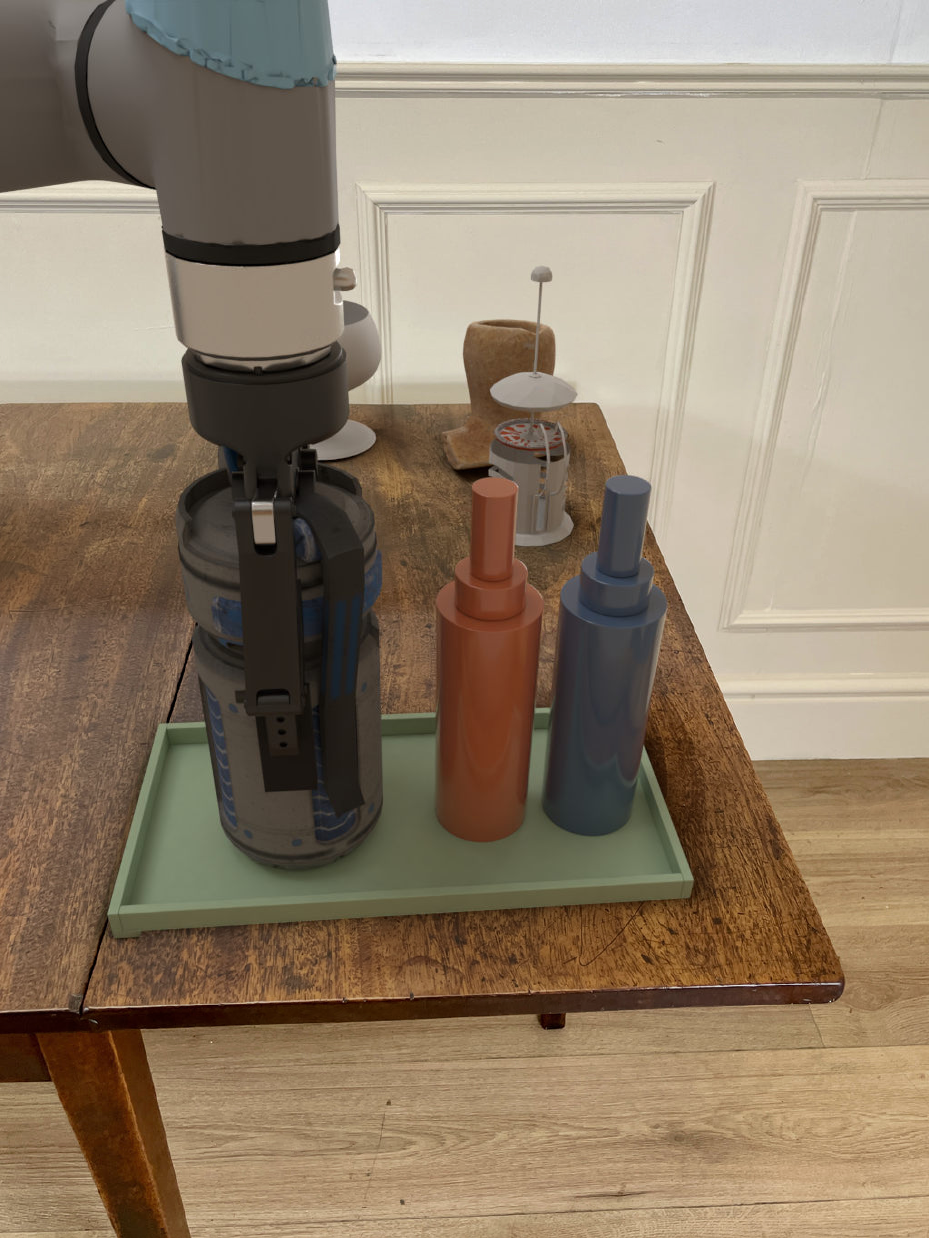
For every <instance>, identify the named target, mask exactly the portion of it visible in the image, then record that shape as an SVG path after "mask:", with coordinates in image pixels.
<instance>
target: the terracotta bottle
mask: <svg viewBox="0 0 929 1238" xmlns="http://www.w3.org/2000/svg"><path fill="white" fill-rule="evenodd" d="M517 505H518V486H517V484H516V483H514V482H513V481H511V480H508V479H504V478H498V477H492V476H489V477H483V478H479V479H478V480H476V481H474V482H473V483H472V485H471V503H470V533H469V535H470V537H469V556H466V557H463V558H462V559H461V560H459V562H457V564H456V565H455V567H454V579H453V580H451V581H449V582H448V583H447V584H445V585H444V586H443V587H441V589H440V590H439V591H438V593H437V595H436V598H435V679H434V680H435V684H434V685H435V687H434V688H435V689H434V690H435V691H434V693H435V694H434V695H435V696H434V697H435V698H434V699H435V700H434V708H435V709H434V712H435V814H436V817H437V819H438V821H439V823H440V824H441V825H442V827H443V828H444V829H446V830H447V831H448V832H449V833H451V834H452V835H454V836H456V837H458V838H461V839H464V840H467V841H472V842H493V841H497V840H501V839H504V838H506V837H508V836H510V835H511V834H513V833H514V832H516V831H517V830H518V829H519V828H520V827H521V825H522V824H523V822H524V820H525V818H526V813H527V801H528V790H529V778H530V766H531V754H532V742H533V730H534V718H535V708H536V705H537V694H538V682H539V670H540V669H539V668H540V656H541V648H542V647H541V646H542V645H541V644H542V634H543V623H544V610H545V603H544V599H543V596H542V595H541V593H540V592H539V590H537V589H536V588H535V587H534V586H533V585H531V584H530V583H528V582H529V570H528V568H527V566H526V565H525V564H524V562H523V561H521V560H519V559H518V558H516V557H515V553H516V551H515V549H516V545H515V538H516V522H517Z"/></svg>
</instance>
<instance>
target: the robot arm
mask: <svg viewBox="0 0 929 1238" xmlns="http://www.w3.org/2000/svg"><path fill="white" fill-rule="evenodd" d="M329 8H330V7H329V0H0V194H3V193H9V192H10V193H11V192H17V191H25V190H30V189H31V190H32V189H38V188H39V189H40V188H46V187H51V186H59V185H66V184H72V183H79V182H90V181H93V182H94V181H102V182H111V183H118V184H123V185H128V186H134V187H139V188H143V189H149V190H153V191H155V192H156V198H157V204H158V209H159V215H160V220H161V235H162V241H163V253H164V260H165V268H166V274H167V280H168V288H169V289H168V290H169V296H170V303H171V309H172V316H173V323H174V324H173V325H174V331H175V336H176V339H177V341H178V342H179V343H180V344H182V345H183V346H184V347H185V348H187V349H186V350H185V353H184V354H182V356H181V360H180V361H181V362H180V363H181V370H182V375H183V376H182V377H183V383H184V390H185V396H186V404H187V410H188V411H187V412H188V416H189V417H188V418H189V422H190V425H191V427H192V429H193V430H194V432H195V433H196V434H197V435H198V436H199V437H201V438H202V439H203V440H205V441H207V442H209V443H211V444H213V445H216V446H217V447H218V446H225V447H227V448H230V449H232V450H234V451H236V452H237V465H238V471H239V472H232V499H233V501H234V507H232V517H233V518H234V519H235V526H236V536H237V545H238V555H239V575H240V594H241V614H242V633H243V652H244V672H245V690H235V699H236V703H237V704H242V703H244V709H246V714H247V715H248V717H251V716H255V720H256V727H257V735H258V743H259V750H260V758H261V765H262V773H263V781H264V788H265V792H280V791H301V790H317V787H318V775H317V764H316V752H315V741H314V729H313V718H312V706H311V695H310V683H306V682H305V658H304V620H303V608H302V592H301V579H298V580H297V559H296V541H295V519H297V517H296V506H294V501H295V499H296V496H297V494H299V496H307V495H311V494H314V493H316V480H317V479H318V462H319V460H318V456H317V450H316V449H310V444H311V445H314V444H317V443H320V442H322V441H324V440H327V439H329V438H330V437H332V436H334V435H335V434H336V433H338V432H339V431H340V430H341V429H342V428H343V427H344V425H345V424H346V422H347V420H348V419H349V417H350V398H349V397H350V396H349V393H350V392H349V391H348V372H347V354H346V351H345V350H344V349H343V347H341V345H340V344H339V343H338V342H337V340H338V339H339V338H340V337H341V336H342V335H343V332H344V313H343V300H344V299H343V296H342V293H341V292H350V291H353V290H354V289H355V288H356V287H357V286H358V282H357V281H358V279H357V278H358V277H357V275H356V274H355V270H354V268H351V267H347V266H346V267H341V268H339V267H338V265H339V264H340V261H341V249H340V248H341V247H340V246H341V242H342V241H341V226H340V219H339V218H340V216H339V194H338V193H339V192H338V191H339V190H338V189H339V188H338V166H337V165H338V163H337V124H336V123H337V119H336V117H337V116H336V112H337V111H336V77H337V76H338V71H337V69H338V68H337V67H338V61H337V57H336V55H335V53H334V46H333V45H334V44H333V36H332V27H331V18H330V9H329Z"/></svg>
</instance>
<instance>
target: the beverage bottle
mask: <svg viewBox="0 0 929 1238" xmlns="http://www.w3.org/2000/svg"><path fill="white" fill-rule="evenodd" d="M217 463H218V469H215V470H213V471H210V472H208V473H205V474H204V475H202V476H199V477H198V478H197V479H194V480H193V481H192V482H191V483H189V484H188V486H186V487H185V488H184V490H183V491H182V492H181V494H180V495H179V498H178V501H177V505H176V509H175V515H174V521H175V527H176V533H177V541H178V543H177V551H178V556H179V564H180V569H181V574H182V575H181V577H182V582H183V588H184V595H185V602H186V607H187V608H186V609H187V611H188V613H189V615H190V617H191V618H192V620H193V621H194V622H195V623H197V625H196V626H194V628H193V630H192V631H193V632H192V637H191V642H192V647H193V654H194V660H195V668H196V675H197V681H198V686H199V693H200V700H201V705H202V712H203V719H204V722H205V726H206V732H207V738H208V745H209V751H210V758H211V764H212V770H213V777H214V783H215V790H216V796H217V803H218V809H219V816H220V822H221V826H222V828H223V831H224V833H225V835H226V837H227V838H228V839H229V840H230V841H231V842H232V844H233V845H234V846H235V847H236V848H238V849H239V850H240V851H241V852H242V853H244V854H245V855H247V856H248V857H249V858H251V859H252V860H254V861H256V862H258V863H261V864H263V865H265V866H269V867H273V868H277V865H279V866H280V867H281V868H282V869H286V870H303V869H312V868H316V867H321V866H325V865H327V864H330V863H333V862H335V861H336V859H337V857H340V858H343V857H345V856H347V855H348V854H350V853H351V852H353V851H354V850H355V849H356V848H357V847H359V846H360V845H361V844H362V843H363V841H364V840H365V839H366V838H367V836H368V835H369V834H370V832H371V831H372V830H373V828H374V827H375V826H376V824H377V822H378V820H379V818H380V815H381V812H382V807H383V775H382V730H381V715H382V699H381V698H382V693H381V650H380V649H381V648H380V647H381V645H380V624H379V623H380V622H379V619H378V617H377V615H376V612H375V611H374V609H373V607H374V605H375V604H376V601H377V599H378V598H379V597H380V595H381V591H382V587H383V554H382V553H383V552H382V551H381V550H380V549H378V538H377V532H376V519H375V518H376V517H375V513H374V511H373V509H372V507H371V505H370V504H369V503H368V502H367V501H366V500H365V499H363V487H362V485H361V483H360V481H359V479H358V477H356V476H354V475H353V474H351V473H350V472H348V471H347V470H345V469H342V468H339V467H337V466H334V465H330V464H327V463H323V462H319V461H318V479H317V480H316V493H314V494H311V495H307V496H299V494H297V496H296V499H295V501H294V506H296V517H297V519H295V541H296V559H297V580H298V579H301V592H302V608H303V620H304V658H305V682H306V683H310V695H311V706H312V718H313V729H314V741H315V752H316V764H317V775H318V787H317V790H301V791H280V792H265V788H264V781H263V773H262V765H261V758H260V750H259V743H258V735H257V727H256V720H255V716H251V717H248V715H247V714H246V709H244V703H242V704H237V703H236V699H235V690H245V672H244V652H243V633H242V614H241V594H240V575H239V555H238V545H237V536H236V526H235V519H234V518H233V517H232V507H234V501H233V499H232V472H239V471H238V465H237V452H236V451H234V450H232V449H230V448H227V447H225V446H218V445H217Z"/></svg>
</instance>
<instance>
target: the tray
mask: <svg viewBox="0 0 929 1238" xmlns="http://www.w3.org/2000/svg"><path fill="white" fill-rule="evenodd" d="M548 717H549V707H535V718H534V730H533V742H532V754H531V766H530V778H529V790H528V801H527V813H526V818H525V820H524V822H523V824H522V825H521V827H520V828H519V829H518V830H517V831H516V832H514V833H513V834H511V835H510V836H508V837H506V838H504V839H501V840H497V841H493V842H472V841H467V840H464V839H461V838H458V837H456V836H454V835H452V834H451V833H449V832H448V831H447V830H446V829H444V828H443V827H442V825H441V824H440V823H439V821H438V819H437V817H436V814H435V711H434V712H412V713H411V712H409V713H386V714H381V730H382V775H383V807H382V812H381V815H380V818H379V820H378V822H377V824H376V826H375V827H374V828H373V830H372V831H371V832H370V834H369V835H368V836H367V838H366V839H365V840H364V841H363V843H362V844H361V845H360V846H359V847H357V848H356V849H355V850H354V851H353V852H351V853H350V854H348V855H347V856H345V857H343V858H340V857H337V859H336V861H335V862H333V863H330V864H327V865H325V866H321V867H316V868H312V869H303V870H286V869H282V868H281V867H280V866H279V865H277V868H273V867H269V866H265V865H263V864H261V863H258V862H256V861H254V860H252V859H251V858H249V857H248V856H247V855H245V854H244V853H242V852H241V851H240V850H239V849H238V848H236V847H235V846H234V845H233V844H232V842H231V841H230V840H229V839H228V838H227V837H226V835H225V833H224V831H223V828H222V826H221V822H220V816H219V809H218V803H217V796H216V790H215V783H214V777H213V770H212V764H211V758H210V751H209V745H208V738H207V732H206V726H205V721H193V722H192V721H191V722H189V721H188V722H170V723H168V722H165V723H164V722H163V723H158V726H157V729H156V732H155V736H154V740H153V744H152V748H151V751H150V756H149V758H148V762H147V765H146V768H145V769H146V770H145V773H144V776H143V781H142V785H141V788H140V791H139V796H138V799H137V803H136V807H135V810H134V814H133V818H132V822H131V825H130V828H129V832H128V835H127V836H128V837H127V840H126V844H125V847H124V851H123V855H122V859H121V862H120V865H119V870H118V873H117V877H116V880H115V884H114V887H113V892H112V896H111V899H110V902H109V906H108V910H107V913H106V915H107V919H108V923H109V925H110V929H111V933H112V936H113V939H128V938H129V939H130V938H141V935H142V932H143V931H144V932H146V931H147V932H148V931H160V930H161V931H163V930H164V931H165V930H178V929H194V928H195V929H196V928H213V927H225V926H226V927H228V926H230V927H231V926H243V925H247V926H248V925H259V924H260V925H263V924H277V923H291V922H292V923H293V922H294V923H295V922H311V921H327V920H330V921H331V920H343V919H360V918H361V919H363V918H376V917H379V918H380V917H394V916H395V917H396V916H411V915H427V914H444V913H459V912H477V911H478V912H479V911H493V910H510V909H528V908H541V907H542V908H543V907H544V908H545V907H559V906H576V905H577V906H578V905H579V906H580V905H593V904H594V905H595V904H608V903H609V904H610V903H625V902H626V903H627V902H644V901H645V902H646V901H658V900H678V899H690V898H691V894H692V892H693V891H692V890H693V887H694V883H695V879H694V876H693V873H692V870H691V868H690V865H689V862H688V860H687V857H686V854H685V851H684V849H683V847H682V843H681V841H680V839H679V836H678V833H677V830H676V828H675V825H674V823H673V820H672V818H671V817H672V816H671V813H670V812H669V808H668V806H667V804H666V801H665V799H664V795H663V793H662V790H661V787H660V785H659V782H658V779H657V777H656V775H655V771H654V769H653V766H652V764H651V761H650V758H649V756H648V753H647V750H646V747H645V745H644V746H643V752H642V758H641V763H640V769H639V775H638V781H637V787H636V793H635V798H634V804H633V810H632V814H631V817H630V819H629V821H628V822H627V823H626V824H625V825H624V826H623V827H622V828H620V829H619V830H617V831H615V832H613V833H610V834H607V835H602V836H583V835H577V834H574V833H571V832H568V831H566V830H564V829H562V828H560V827H559V826H557V825H556V824H555V823H553V822H552V821H551V820H550V819H549V818H548V816H547V815H546V814H545V812H544V810H543V807H542V804H541V791H542V781H543V770H544V759H545V749H546V738H547V728H548Z"/></svg>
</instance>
